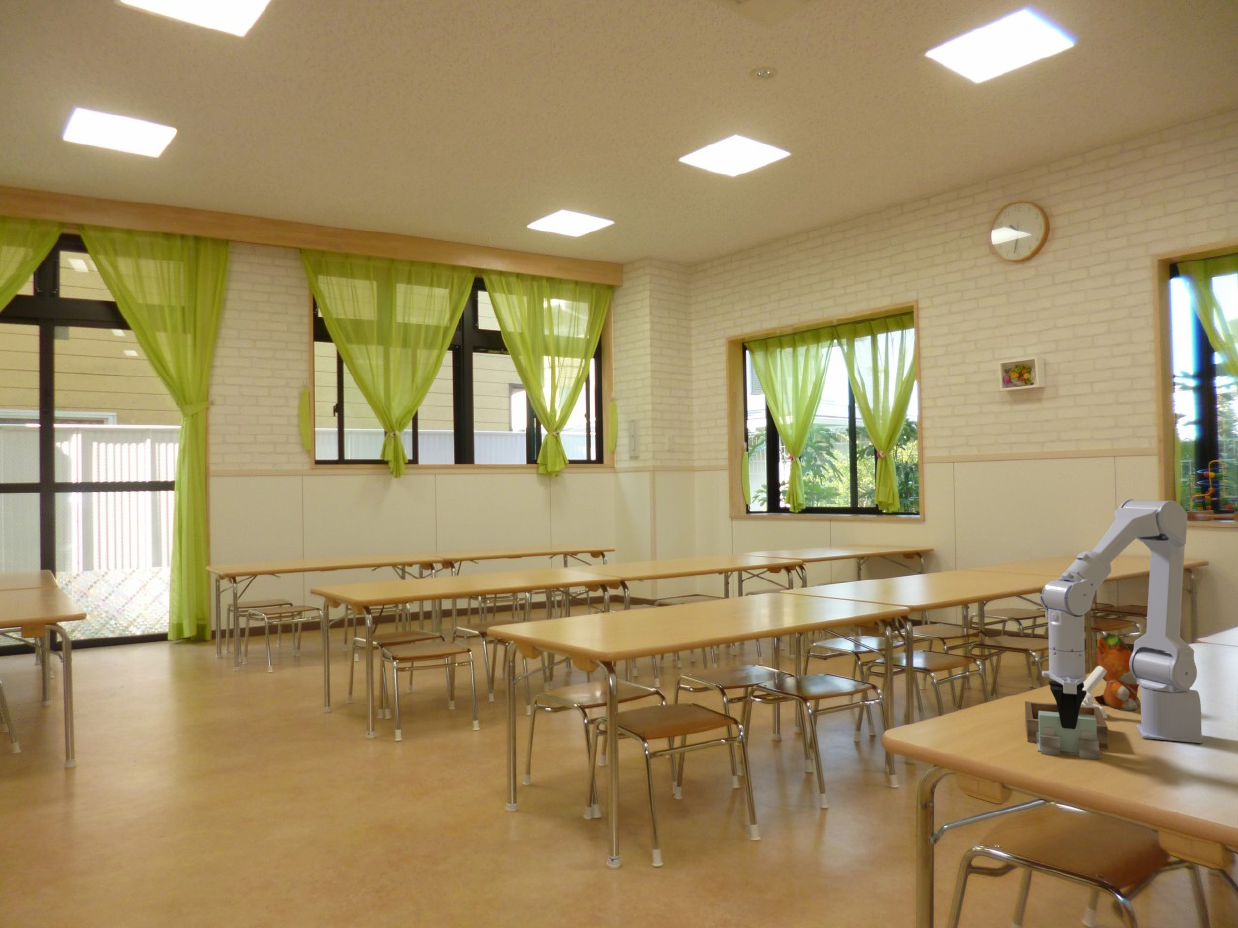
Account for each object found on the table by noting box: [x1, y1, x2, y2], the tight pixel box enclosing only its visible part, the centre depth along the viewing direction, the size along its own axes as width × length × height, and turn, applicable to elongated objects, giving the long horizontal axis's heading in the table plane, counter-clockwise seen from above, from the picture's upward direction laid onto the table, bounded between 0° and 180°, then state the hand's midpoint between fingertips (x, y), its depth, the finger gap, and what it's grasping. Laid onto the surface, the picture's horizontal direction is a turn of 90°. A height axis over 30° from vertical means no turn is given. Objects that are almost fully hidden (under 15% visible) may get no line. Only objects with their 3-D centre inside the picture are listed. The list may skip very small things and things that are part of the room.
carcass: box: [1024, 700, 1109, 760], centre depth 163 cm, size 13×21×4 cm, turn 157°
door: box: [1038, 711, 1097, 753], centre depth 157 cm, size 9×3×6 cm, turn 67°
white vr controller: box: [1081, 665, 1108, 720], centre depth 180 cm, size 8×12×7 cm
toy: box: [1093, 632, 1141, 712], centre depth 187 cm, size 11×9×15 cm
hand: (1067, 725), depth 157 cm, fingers closed on door, 3 cm apart
